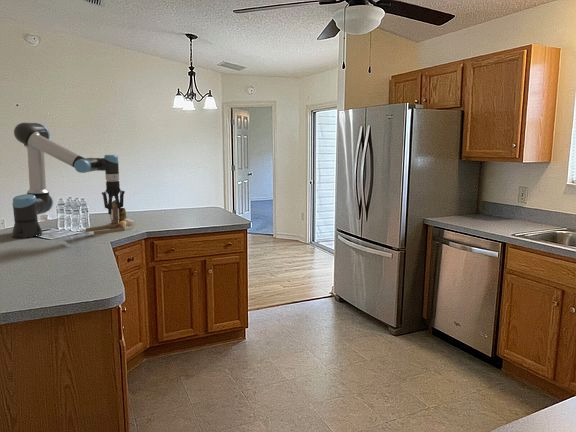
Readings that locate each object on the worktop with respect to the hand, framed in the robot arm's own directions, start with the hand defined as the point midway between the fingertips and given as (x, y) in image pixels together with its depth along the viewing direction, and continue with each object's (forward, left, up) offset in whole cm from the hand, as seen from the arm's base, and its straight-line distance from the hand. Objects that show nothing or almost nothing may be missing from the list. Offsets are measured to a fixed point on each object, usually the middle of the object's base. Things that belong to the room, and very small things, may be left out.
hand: (114, 219), depth 269 cm
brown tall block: (0, 0, -7) cm, 7 cm away
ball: (+5, 0, -4) cm, 6 cm away
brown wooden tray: (-3, 0, -8) cm, 9 cm away
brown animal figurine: (+10, +17, -8) cm, 21 cm away
